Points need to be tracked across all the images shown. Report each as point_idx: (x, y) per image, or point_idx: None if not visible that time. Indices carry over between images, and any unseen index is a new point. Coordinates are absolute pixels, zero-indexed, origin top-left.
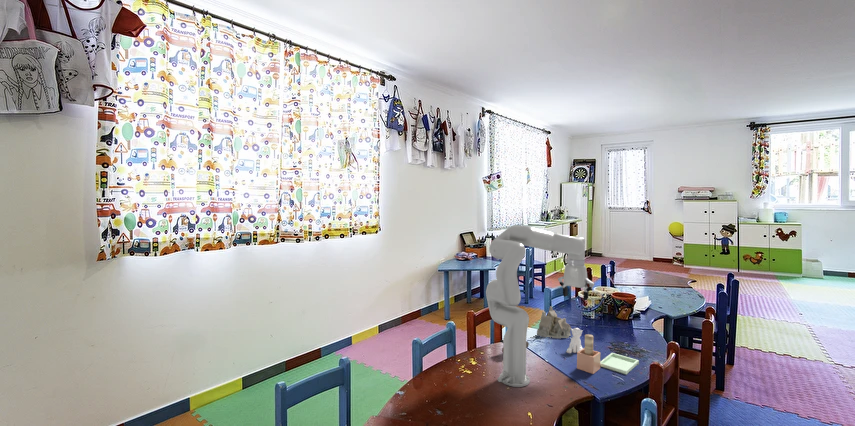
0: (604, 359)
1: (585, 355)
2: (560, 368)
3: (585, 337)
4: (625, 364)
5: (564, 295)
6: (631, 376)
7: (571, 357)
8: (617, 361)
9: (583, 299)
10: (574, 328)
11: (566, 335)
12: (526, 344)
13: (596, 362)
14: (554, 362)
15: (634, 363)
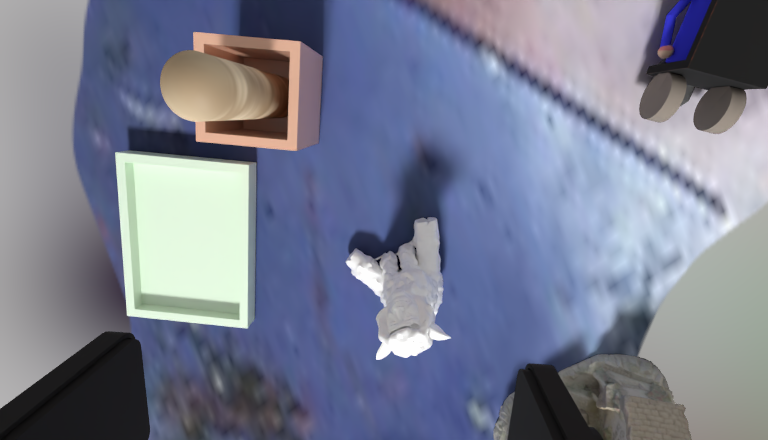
0: (242, 224)
1: (246, 37)
2: (394, 12)
3: (216, 59)
4: (167, 255)
5: (535, 373)
6: (113, 161)
7: (398, 187)
8: (206, 265)
9: (127, 340)
10: (420, 333)
11: (509, 419)
12: (655, 97)
13: None
14: (447, 65)
15: (126, 267)
